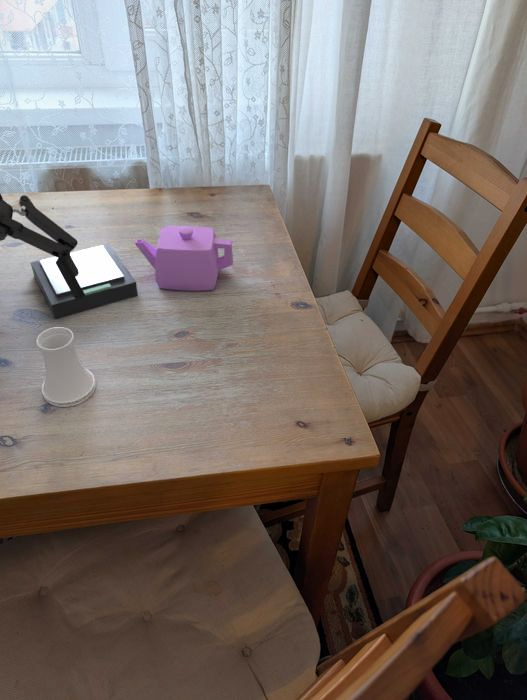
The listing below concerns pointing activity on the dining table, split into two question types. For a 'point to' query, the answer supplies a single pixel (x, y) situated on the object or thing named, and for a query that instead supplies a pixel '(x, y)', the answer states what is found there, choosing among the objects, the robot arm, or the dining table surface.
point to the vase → (63, 369)
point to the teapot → (187, 257)
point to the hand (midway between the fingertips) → (37, 317)
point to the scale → (85, 281)
